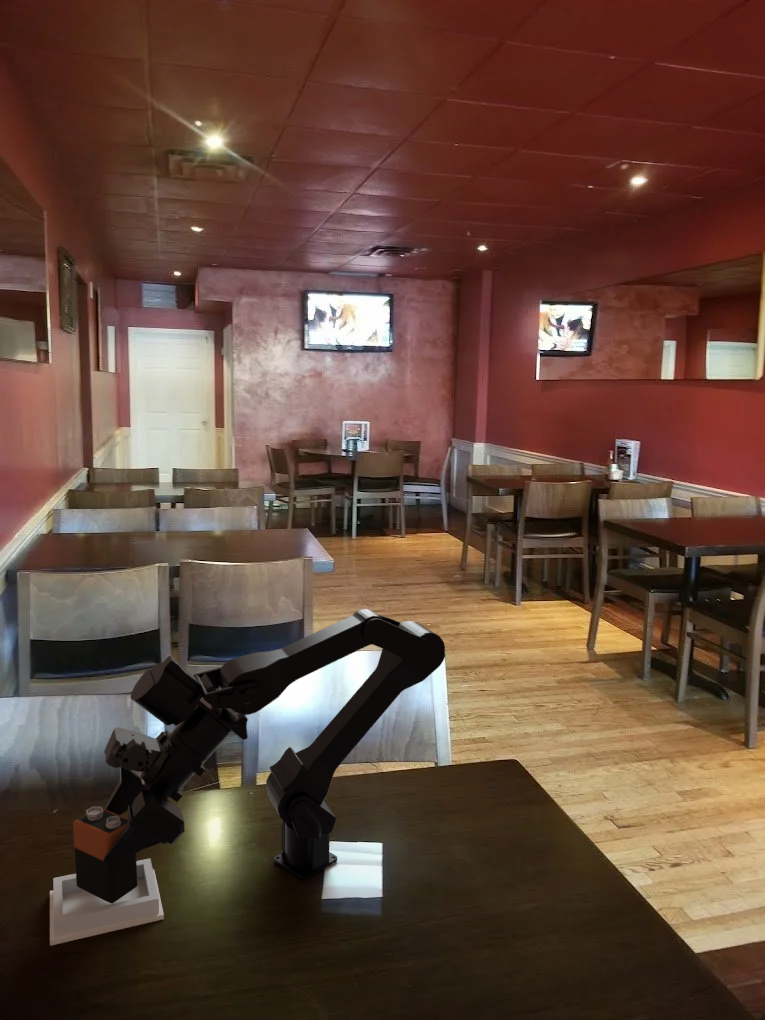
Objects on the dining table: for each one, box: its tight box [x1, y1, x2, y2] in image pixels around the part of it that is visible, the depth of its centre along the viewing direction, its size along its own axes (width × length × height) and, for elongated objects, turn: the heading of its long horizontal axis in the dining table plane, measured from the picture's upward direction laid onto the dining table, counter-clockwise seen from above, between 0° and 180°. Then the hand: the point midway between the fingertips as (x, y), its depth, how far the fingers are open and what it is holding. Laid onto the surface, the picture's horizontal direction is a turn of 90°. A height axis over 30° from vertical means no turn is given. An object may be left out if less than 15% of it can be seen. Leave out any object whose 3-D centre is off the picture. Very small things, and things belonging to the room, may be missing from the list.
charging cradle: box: [49, 858, 165, 947], centre depth 100 cm, size 13×10×3 cm
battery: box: [72, 806, 137, 903], centre depth 99 cm, size 4×7×10 cm, turn 59°
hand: (103, 841), depth 98 cm, fingers open, 9 cm apart
